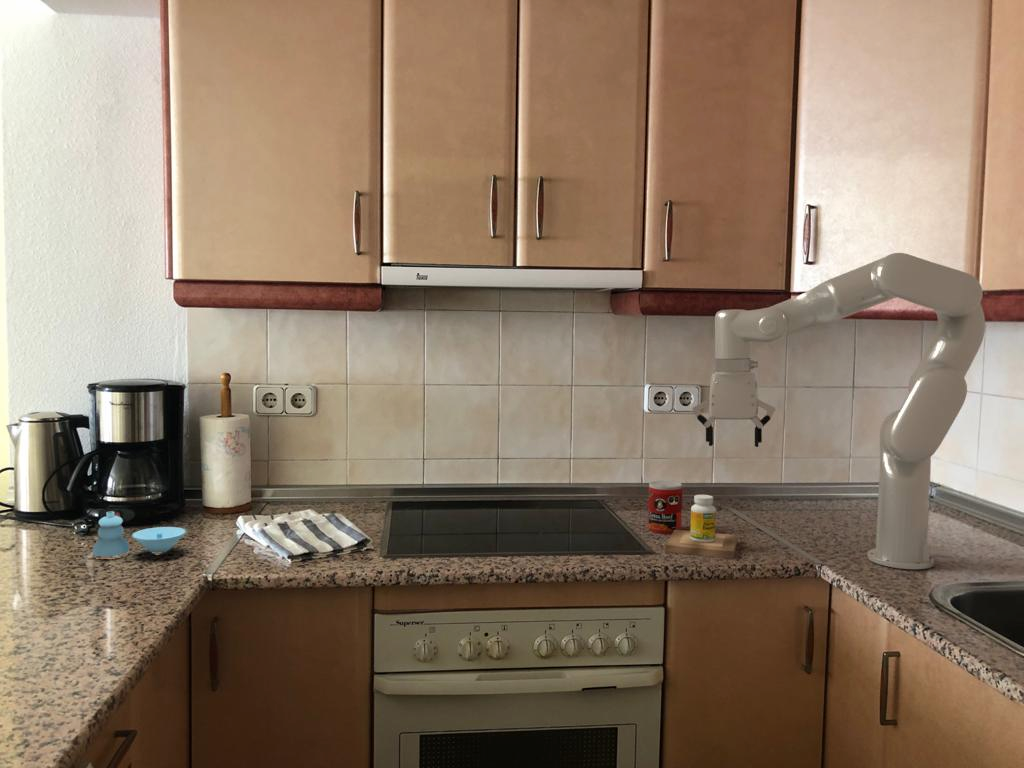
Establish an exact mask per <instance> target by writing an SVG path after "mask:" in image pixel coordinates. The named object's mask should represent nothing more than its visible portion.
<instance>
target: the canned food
mask: <svg viewBox="0 0 1024 768" xmlns="http://www.w3.org/2000/svg"><path fill="white" fill-rule="evenodd" d="M647 509H648V510H647V516H648V517H647V526H648V530H649V531H650V532H651V533H652V532H653V533H655V532H656V534H662V533H663V534H664V535H665V534H667V535H670V534H671V535H672V533H673V532H674V530H682V529H681V528H682V518H683V517H682V516H683V515H682V513H683V510H682V509H683V483H681V482H678V481H673V480H655V481H650V482H649V484H648V505H647Z"/></svg>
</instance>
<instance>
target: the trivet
mask: <svg viewBox="0 0 1024 768" xmlns="http://www.w3.org/2000/svg"><path fill="white" fill-rule="evenodd" d="M690 533H691V530H683V529H680V530H674V532H673V533H672V534H671V535H670V537H669V538H668V540H667V542H666V543H665V553H672V554H673V553H674V554H682V555H683V554H684V555H691V556H692V555H693V556H703V557H712V558H725V559H734V556H735V553H736V549H737V546H738V542H739V541H738V537H739V535H738V534H728V533H726V534H725V533H716V532H715V540H714V541H713V542H697V541H693V540H692V539H691V537H690V536H691V535H690Z"/></svg>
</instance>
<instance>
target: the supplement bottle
mask: <svg viewBox="0 0 1024 768" xmlns="http://www.w3.org/2000/svg"><path fill="white" fill-rule="evenodd" d="M693 497H694V499H693V502H694V504H692V506H691V508H690V531H691V533H690V535H691V536H690V537H691V539H692V540H693V541H697V542H713V541H714V540H715V533H716V527H717V526H716V524H717V522H716V521H717V508H716V507H715V506H714V505H713V503H714V496H712V495H709V494H695V495H694V496H693Z"/></svg>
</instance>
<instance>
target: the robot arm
mask: <svg viewBox="0 0 1024 768" xmlns="http://www.w3.org/2000/svg"><path fill="white" fill-rule="evenodd" d="M983 295H984V293H983V288H982V285H981V283H980V282H979V280H978V279H977V278H976V277H975V276H974V275H972V274H971V273H968V272H966V271H961V270H959V269H956V268H954V267H953V268H952V267H949V266H946V265H943V264H940V263H936V262H933V261H930V260H927V259H923V258H920V257H917V256H915V255H911V254H908V253H904V252H893V253H890V254H888V255H886V256H884V257H882V258H879V259H877V260H875V261H872V262H869V263H867V264H865V265H862V266H860V267H857V268H855V269H854V268H853V269H852V270H849V271H847V272H844V273H841V274H840V275H836V276H835V277H832V278H829V279H827V280H825V281H822V282H820V283H819V284H818V285H816V286H814V287H813V288H811V289H809V290H807V291H806V292H803V293H801V294H799V295H796V296H794V297H791V298H788V299H787V300H784V301H781V302H778V303H776V304H774V305H772V306H768V307H764V308H759V309H751V310H746V309H721V310H719V311H717V312H716V314H715V317H714V350H715V351H714V358H715V361H714V363H715V364H714V365H715V367H714V368H715V372H712V374H711V378H710V383H709V384H710V386H709V398H708V399H706V400H704V401H702V402H701V403H699V404H695V406H693V407H692V412H693V413H694V415H695V417H696V419H697V420H698V421H699V422H700V423H701V424H702V425H703V427H705V442H706V443H707V442H708V446H709V447H712V446H713V445H714V427H713V423H714V422H715V421H716V420H736V421H737V420H740V421H741V420H746V421H748V420H751V421H752V423H753V424H754V425H755V427H754V447H756V448H758V447H759V443H760V444H761V443H762V441H763V440H762V439H763V436H762V435H763V432H762V431H763V428H764V426H765V425H767V423H768V422H770V421H771V419H772V417H773V415H774V413H775V412H776V408H775V406H773V405H771V404H769V403H767V402H764V401H763V400H762V399H759V397H758V385H757V384H758V383H757V377H756V373H755V372H752V370H753V369H755V368H759V361H755V360H753V359H752V342H754V343H761V344H762V343H763V344H775V343H777V342H779V341H782V339H784V338H787V337H790V336H792V335H795V334H797V333H799V332H803V331H804V330H807V329H810V328H813V327H816V326H818V325H822V324H825V323H826V324H827V323H830V322H831V323H832V322H835V321H838V320H842V319H843V318H848V317H849V316H852V315H854V314H858V313H860V312H862V311H865V310H867V309H870V308H872V307H875V306H878V305H879V304H884V303H885V302H888V301H890V300H893V299H896V298H898V299H900V300H904V301H907V302H909V303H913V304H916V305H917V306H921V307H925V308H927V309H929V310H932V311H934V313H935V314H936V316H937V328H936V330H935V333H934V336H933V338H932V339H931V342H930V344H929V346H928V348H927V349H926V352H925V353H924V354H923V356H922V358H921V360H920V361H919V363H918V365H917V367H916V368H915V370H914V371H913V373H912V375H911V376H910V377H909V381H908V386H907V387H908V394H907V396H906V397H905V400H904V402H903V403H902V405H901V407H900V409H897V410H895V411H893V412H891V413H890V414H888V415H887V416H886V417H885V418H884V420H883V422H882V424H881V427H880V430H879V431H880V432H879V478H878V479H879V480H878V494H877V495H878V496H877V497H878V498H877V515H876V516H877V519H876V538H875V540H876V541H875V548H873V549H869V550H868V551H867V558H868V560H869V561H871V562H872V563H875V564H877V565H880V566H885V567H889V568H893V569H901V570H926V569H930V568H932V567H933V566H934V564H935V557H936V558H937V557H938V558H943V559H952V556H953V551H952V548H945V547H943V546H939V545H938V546H937V545H936V546H935V545H931V544H930V543H929V541H928V538H927V537H928V523H929V522H928V520H929V519H928V518H929V500H930V486H931V457H932V456H933V455H934V454H935V453H936V452H937V451H938V449H939V448H940V446H941V445H942V443H943V442H944V439H945V438H946V436H947V434H948V433H949V431H950V429H951V427H952V426H953V424H954V422H955V420H956V419H957V417H958V415H959V413H960V411H961V409H962V408H963V406H964V405H965V401H966V398H967V394H968V384H967V381H966V375H967V373H968V371H969V370H970V368H971V366H972V363H973V362H974V360H975V357H976V356H977V354H978V352H979V350H980V348H981V346H982V343H983V340H984V337H985V333H986V332H985V330H986V320H985V312H984V310H983V307H982V304H981V302H982V299H983ZM707 407H708V410H709V411H708V413H709V417H708V418H706V417H705V416H704V415H703V413H702V411H701V410H703V409H705V408H707ZM759 408H761V409H763V410H766V413H765V416H764V415H763V418H761V419H760V418H759V417H758V414H759Z"/></svg>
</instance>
